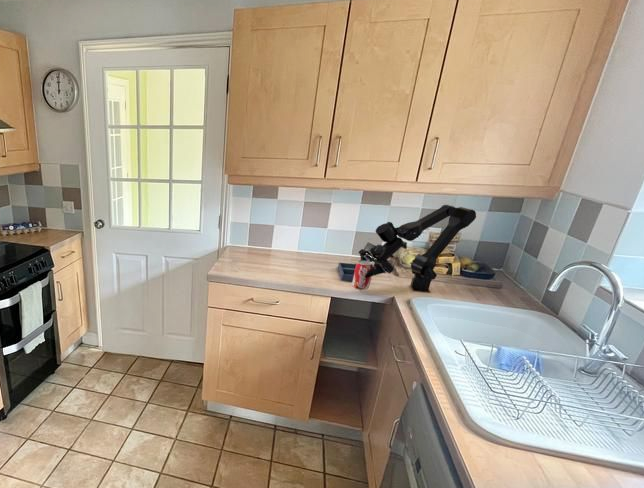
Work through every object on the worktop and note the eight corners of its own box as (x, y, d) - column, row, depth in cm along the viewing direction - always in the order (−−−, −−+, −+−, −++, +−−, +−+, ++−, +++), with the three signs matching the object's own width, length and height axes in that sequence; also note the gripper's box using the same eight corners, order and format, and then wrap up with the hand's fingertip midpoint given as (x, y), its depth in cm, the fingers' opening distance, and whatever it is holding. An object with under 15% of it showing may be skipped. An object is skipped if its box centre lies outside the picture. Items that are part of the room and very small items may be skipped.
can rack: (358, 269, 212) (360, 264, 211) (364, 282, 195) (365, 276, 194) (337, 267, 214) (338, 262, 213) (341, 280, 198) (342, 274, 196)
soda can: (350, 289, 182) (355, 263, 177) (352, 284, 188) (357, 259, 183) (368, 292, 179) (374, 266, 174) (369, 286, 185) (374, 261, 180)
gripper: (366, 231, 183) (338, 256, 186) (393, 242, 166) (362, 269, 169) (379, 247, 187) (352, 271, 190) (406, 260, 170) (376, 286, 173)
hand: (359, 274), depth 181 cm, fingers closed on soda can, 7 cm apart
